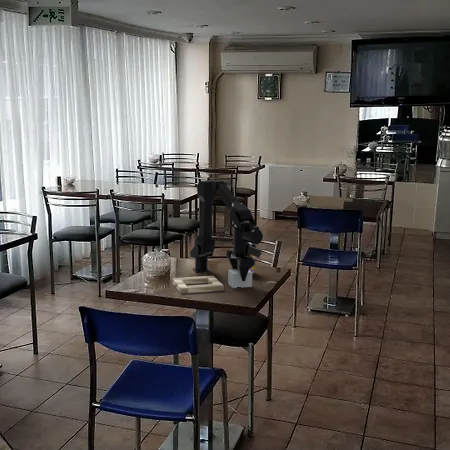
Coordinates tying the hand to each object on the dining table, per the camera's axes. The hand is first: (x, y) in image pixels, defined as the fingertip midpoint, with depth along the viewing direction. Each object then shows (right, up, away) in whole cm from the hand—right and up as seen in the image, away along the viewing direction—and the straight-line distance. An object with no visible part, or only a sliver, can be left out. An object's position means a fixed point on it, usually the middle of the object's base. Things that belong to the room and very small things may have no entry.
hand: (239, 278), depth 242 cm
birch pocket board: (-17, -3, -3) cm, 17 cm away
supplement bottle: (+3, 0, +20) cm, 20 cm away
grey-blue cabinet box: (0, -3, +1) cm, 3 cm away
